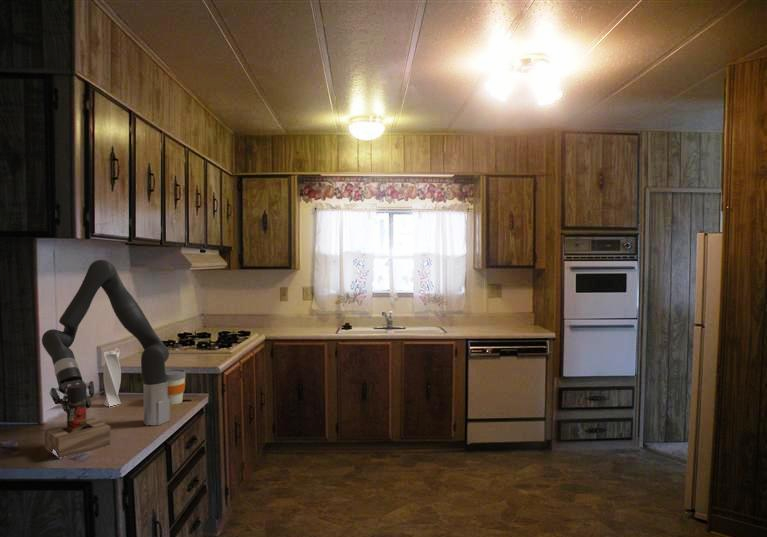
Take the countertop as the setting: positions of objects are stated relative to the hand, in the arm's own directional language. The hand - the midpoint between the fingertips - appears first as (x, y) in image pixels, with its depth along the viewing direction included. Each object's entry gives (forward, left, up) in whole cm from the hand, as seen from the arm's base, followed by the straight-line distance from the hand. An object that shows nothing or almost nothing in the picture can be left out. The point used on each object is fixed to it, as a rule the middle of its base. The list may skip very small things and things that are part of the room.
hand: (78, 408), depth 163 cm
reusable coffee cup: (+10, -56, -15) cm, 59 cm away
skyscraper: (+35, -44, -15) cm, 58 cm away
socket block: (+1, -1, -14) cm, 14 cm away
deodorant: (+2, 0, -7) cm, 7 cm away
